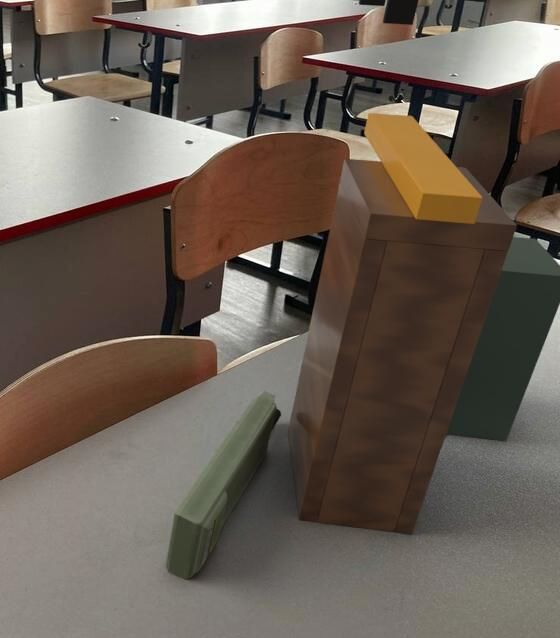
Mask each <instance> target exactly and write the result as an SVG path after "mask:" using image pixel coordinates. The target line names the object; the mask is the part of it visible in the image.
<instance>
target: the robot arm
mask: <svg viewBox="0 0 560 638" xmlns="http://www.w3.org/2000/svg"><path fill="white" fill-rule="evenodd" d="M358 5H359V6H372V7H373V6H376V7H385V9H384V13H383V18H382V23H383V24H387V25H388V24H389V25H407V26H408V25H409V26H413V25H414V22H415V18H416V17H415V16H416V12H417V8H418V5H419V0H358Z"/></svg>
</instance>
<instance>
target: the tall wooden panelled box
mask: <svg viewBox="0 0 560 638" xmlns="http://www.w3.org/2000/svg"><path fill="white" fill-rule="evenodd" d="M456 167H457V169H458V170H459V171H460V172H461V173H462V174H463V175H464V177H465V178H466V179H467V180H468V181H469V182H470V184H471V185H472V186H473V187H474V188H475V189H476V190H477V192H478V193H479V194H480V195H481V196H482V202H481V205H480V208H479V211H478V215H477V218H476V221H475V224H468V223H456V222H444V221H431V220H419V219H416V218H415V217H414V215H413V213H412V212H411V210H410V209H409V207H408V205H407V204H406V202H405V200H404V199H403V197H402V195H401V194H400V192H399V190H398V189H397V187H396V185H395V184H394V182H393V180H392V179H391V177H390V176H389V174H388V172H387V171H386V169H385V167H384V166H383V164H382V162H381V161H380V160H369V159H355V158H344V159H343V164H342V169H341V174H340V178H339V184H338V188H337V194H336V197H335V203H334V209H333V213H332V218H331V222H330V228H329V233H328V237H327V241H326V246H325V251H324V255H323V260H322V265H321V271H320V276H319V280H318V285H317V289H316V295H315V299H314V305H313V309H312V313H311V317H310V318H311V319H310V324H309V328H308V333H307V338H306V342H305V348H304V352H303V358H302V362H301V367H300V372H299V376H298V381H297V386H296V391H295V396H294V401H293V406H292V411H291V414H290V420H289V424H288V429H287V436H288V437H287V438H288V445H289V452H290V462H291V467H292V469H291V470H292V475H293V484H294V490H295V492H294V493H295V499H296V506H297V513H298V520H299V521H307V522H313V523H321V524H329V525H337V526H338V525H339V526H344V527H352V528H359V529H366V530H367V529H368V530H374V531H382V532H391V533H398V534H406V535H407V534H408V535H413V533H414V530H415V527H416V524H417V522H418V519H419V515H420V513H421V510H422V506H423V504H424V501H425V498H426V495H427V491H428V490H429V486H430V484H431V481H432V477H433V475H434V471H435V469H436V465H437V462H438V460H439V457H440V454H441V451H442V449H443V444H444V442H445V439H446V436H447V434H446V433H447V430H448V427H449V424H450V421H451V418H452V415H453V412H454V410H455V407H456V404H457V401H458V398H459V395H460V392H461V389H462V386H463V383H464V380H465V377H466V374H467V371H468V368H469V365H470V362H471V359H472V356H473V353H474V351H475V348H476V345H477V342H478V339H479V336H480V333H481V330H482V327H483V324H484V321H485V318H486V315H487V312H488V309H489V306H490V303H491V300H492V297H493V295H494V292H495V289H496V286H497V283H498V280H499V277H500V274H501V271H502V268H503V265H504V262H505V259H506V256H507V253H508V251H509V248H510V245H511V242H512V239H513V237H515V233H516V230H517V227H518V225H517V224H516V223H515V221H514V220H513V219H512V218H511V217H510V216H509V215H508V214H507V213H506V211H505V210H504V209H503V208H502V206H500V204H498V203H497V201H496V200H495V199H494V198H493V197H492V196H491V194H490V193H488V192H487V190H486V189H485V188H484V187H483V186H482V185H481V183H479V181H478V180H477V179H476V178H475V176H473V175H472V173H471V172H470V170H468V169H467V168H466V167H462V166H456Z"/></svg>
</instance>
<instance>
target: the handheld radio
mask: <svg viewBox="0 0 560 638" xmlns="http://www.w3.org/2000/svg"><path fill="white" fill-rule="evenodd" d="M275 399H276V395H275V394H272V393H270V392H268V391H263V392H262V393H261V394H260V395H258V396H256V397H254V398H253V399H252V401H251V402H250V403H249V405H248V406H247V407H246V408H245V410H244V412H243V413H242V414H241V416H240V417H239V418H238V420H236V422H235V423H234V424H233V427H232V428H231V430H230V431H229V432H228V434H227V435H226V437H225V438H224V439H223V441H222V442H221V444H220V445H219V447H218V448H217V449H216V451H215V453H214V454H213V456H212V457H211V459H210V460H209V462H208V463H207V464H206V466H205V468H204V469H203V470H202V472H201V473H200V475H199V476H198V478H197V479H196V480H195V482H194V484H193V485H192V487H190V490H189V491H188V492H187V494H186V496H185V497H183V500H182V501H181V503H180V504H179V505H178V507H177V508H176V510H175V512H174V515H173V522H172V526H171V532H170V539H169V544H168V551H167V556H166V562H165V567H166V570H167V572H168V573H169V574H172V575H174V576H177V577H179V578H181V579H183V580H188V579H190V578H192V577H193V576H194V574H197V573H198V572H199V571H200V570H201V569H202V568H203V566H204V565H205V563H206V561H207V560H208V557H209V556H210V555H211V552H212V551H213V549H214V548H215V546H216V544H217V542H218V541H219V538H220V534H221V530H222V528H223V526H224V524H226V522H227V519H228V518H229V516H230V515H231V513H232V511H233V509H234V508H235V506H236V504H237V503H238V501H239V500H240V498H241V496H242V495H243V493H244V491H245V490H246V489H247V486H248V484H249V483H250V481H251V480H252V478H253V476H254V475H255V473H256V471H257V469H258V467H259V466H260V464H261V463H262V461H263V459H264V457H266V454H267V450H268V447H269V442H270V438H271V434H272V431H273V430H274V428H275V426H276V425H277V423H278V422H279V419H280V418H281V416H282V412H281V410H279V409H278V407H277V404H276V402H275Z"/></svg>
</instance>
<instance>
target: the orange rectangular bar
mask: <svg viewBox="0 0 560 638" xmlns="http://www.w3.org/2000/svg"><path fill="white" fill-rule="evenodd" d="M363 133H364V136H365V137H366V139H367V141H368V143H369V144H370V146H371V147H372V149H373V151H374V153H375V154H376V156H377V157H378V159H379V161H381V162H382V164H383V166H384V167H385V169H386V171H387V172H388V174H389V176H390V177H391V179H392V180H393V182H394V184H395V185H396V187H397V189H398V190H399V192H400V194H401V195H402V197H403V199H404V200H405V202H406V204H407V205H408V207H409V209H410V210H411V212H412V213H413V215H414V217H415V218H416V219H419V220H431V221H444V222H456V223H468V224H475V221H476V218H477V215H478V211H479V208H480V205H481V202H482V196H481V195H480V194H479V193H478V192H477V190H476V189H475V188H474V187H473V186H472V185H471V184H470V182H469V181H468V180H467V179H466V178H465V177H464V175H463V174H462V173H461V172H460V171H459V170H458V169H457V167H458V166H456V165H455V163H453V162H452V160H451V159H450V158H449V157H448V156H447V154H446V153H445V152H444V151H443V150H442V149H441V147H440V146H438V144H437V143H436V141H434V140H433V138H432V137H431V136H430V135H429V134H428V132H427V131H426V130H425V129H424V128H423V127H422V125H421V124H420V123H419V122H418V121H417V120H416V119H415V118H414V116H412V115H401V114H387V113H386V114H385V113H375V112H373V113H371V112H369V113H367V118H366V122H365V127H364V132H363Z"/></svg>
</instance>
